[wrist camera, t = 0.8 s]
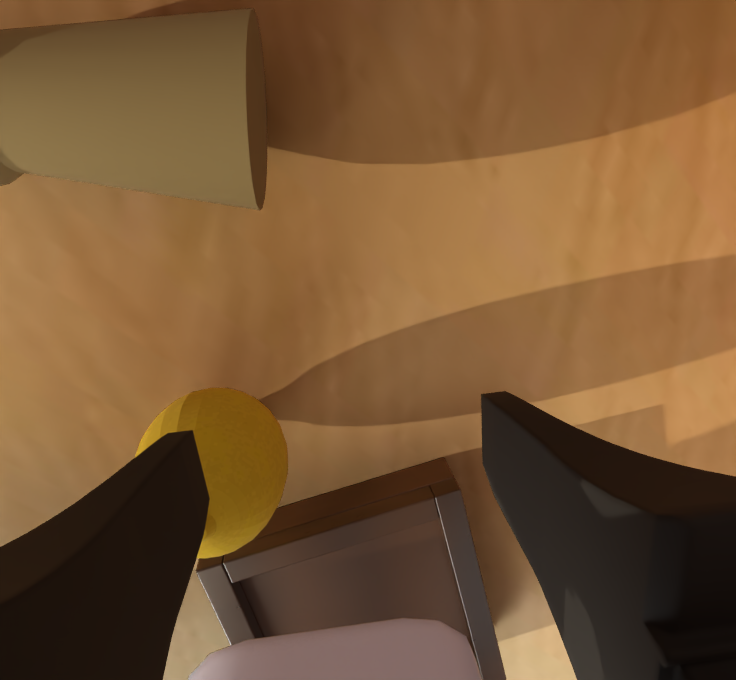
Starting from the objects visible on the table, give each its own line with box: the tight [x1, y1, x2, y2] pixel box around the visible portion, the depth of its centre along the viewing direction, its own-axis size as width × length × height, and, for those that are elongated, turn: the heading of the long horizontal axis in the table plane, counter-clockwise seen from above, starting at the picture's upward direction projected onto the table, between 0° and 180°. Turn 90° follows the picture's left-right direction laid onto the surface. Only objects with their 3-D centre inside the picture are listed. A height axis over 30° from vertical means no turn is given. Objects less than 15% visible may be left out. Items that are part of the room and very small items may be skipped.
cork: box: [0, 8, 267, 210], centre depth 17 cm, size 6×6×11 cm
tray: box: [196, 458, 506, 680], centre depth 26 cm, size 12×12×3 cm
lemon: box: [135, 388, 288, 558], centre depth 20 cm, size 6×6×8 cm
